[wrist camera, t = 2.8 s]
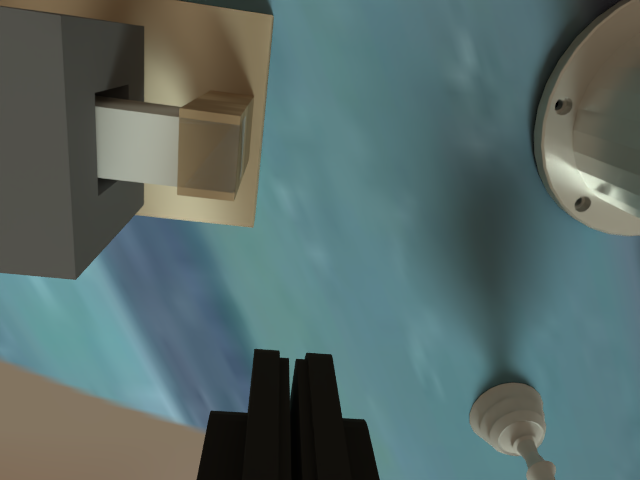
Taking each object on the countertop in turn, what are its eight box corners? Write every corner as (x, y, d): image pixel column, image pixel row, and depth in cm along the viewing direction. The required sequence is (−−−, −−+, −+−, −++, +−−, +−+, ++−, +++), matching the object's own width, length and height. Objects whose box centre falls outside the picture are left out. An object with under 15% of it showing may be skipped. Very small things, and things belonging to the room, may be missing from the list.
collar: (144, 26, 19) (60, 15, 12) (144, 204, 22) (75, 279, 15) (66, 14, 19) (-66, -4, 12) (76, 197, 22) (-26, 270, 15)
